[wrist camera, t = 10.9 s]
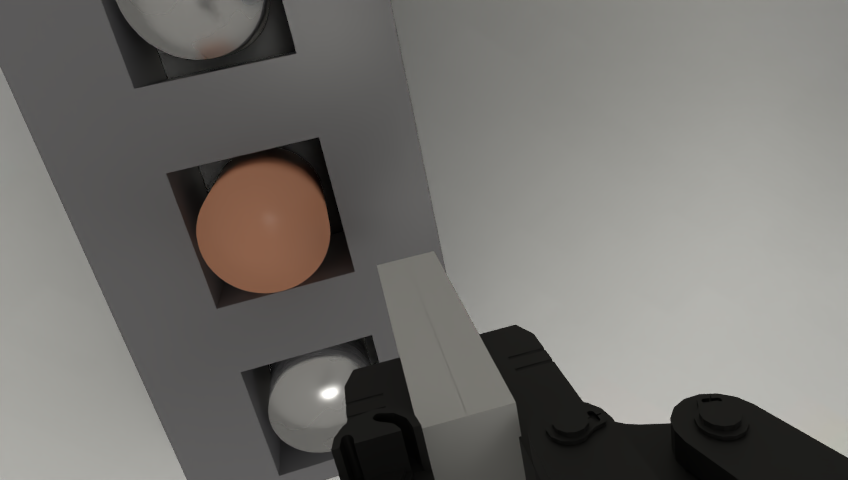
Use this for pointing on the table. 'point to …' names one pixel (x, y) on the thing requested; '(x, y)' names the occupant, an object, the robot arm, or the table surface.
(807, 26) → the table surface
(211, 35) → the steel button near
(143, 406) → the table surface
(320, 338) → the button console
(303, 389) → the steel button far
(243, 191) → the terracotta button
